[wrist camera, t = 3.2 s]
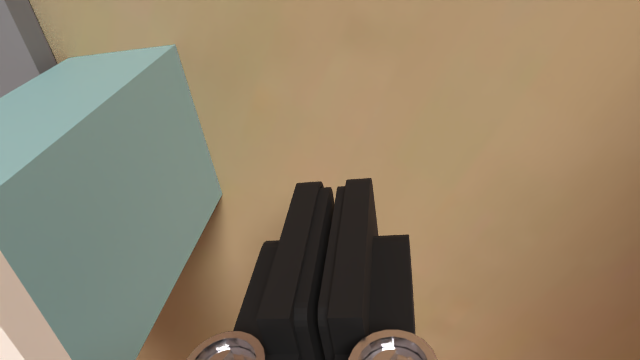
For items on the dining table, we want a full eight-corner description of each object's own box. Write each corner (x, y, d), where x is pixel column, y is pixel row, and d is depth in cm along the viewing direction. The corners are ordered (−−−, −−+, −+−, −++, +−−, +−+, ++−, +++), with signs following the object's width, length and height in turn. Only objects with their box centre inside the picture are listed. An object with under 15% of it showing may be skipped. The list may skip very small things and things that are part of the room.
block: (175, 44, 16) (-65, 238, 8) (222, 194, 19) (89, 447, 11) (68, 57, 17) (-256, 246, 8) (130, 199, 20) (-61, 440, 11)
